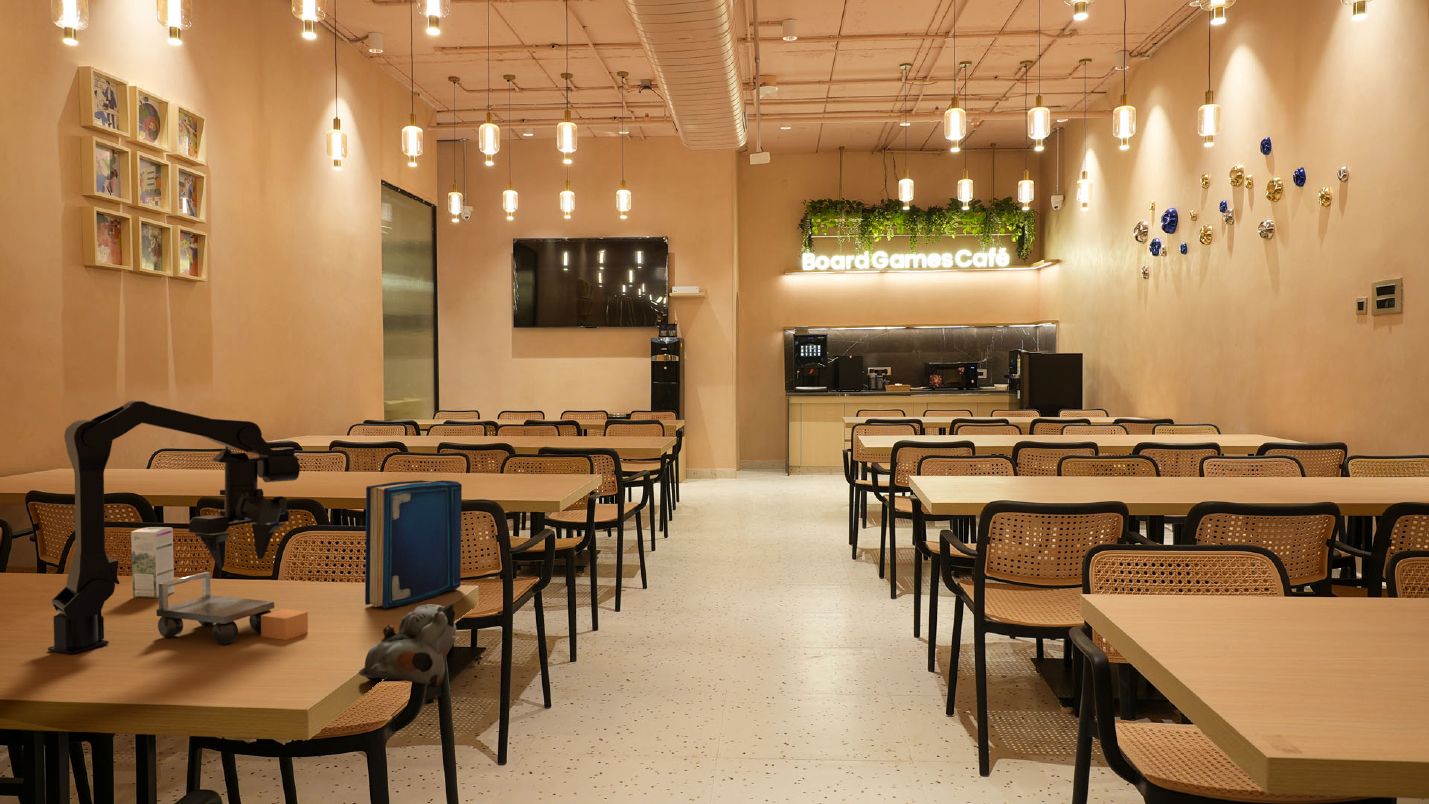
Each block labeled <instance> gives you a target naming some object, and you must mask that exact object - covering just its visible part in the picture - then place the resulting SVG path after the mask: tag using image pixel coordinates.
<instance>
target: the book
mask: <svg viewBox="0 0 1429 804" xmlns="http://www.w3.org/2000/svg"><path fill="white" fill-rule="evenodd" d="M462 487H463V485H462V483H460V482H459V481H455V480H435V481H431V480H430V481H429V480H407V481H393V482H388V483H382V484H381V483H380V484H375V485H368V486H366V487H365V490H366V491H365V493H366V494H365V561H364V562H365V564H364V565H365V570H364V571H365V576H364V577H365V578H364V579H365V581H364V583H365V585H364V586H365V587H364V588H365V589H364V590H365V591H364V603H365V606H368V605H371V606H372V607H374V608H376V607H382V609H387V608H388V609H389V608H395V607H398V606H404V605H410V604H414V603H418V602H422V601H424V600H429V599H433V598H437V597H439V596H440V595H441V594H443V593H444V592H445V593H446V592H451V591H455V590H457V589H458V588H459V589H460V587H461V573H462V572H461V567H462V566H461V563H462V562H461V561H462V558H461V557H462V556H461V554H462V550H461V549H462V494H463V493H462V489H463V488H462Z"/></svg>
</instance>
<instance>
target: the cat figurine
mask: <svg viewBox="0 0 1429 804" xmlns="http://www.w3.org/2000/svg"><path fill="white" fill-rule="evenodd" d="M454 607H455V603H454V602H452V603H449V604H448V605H446V606H442V605H440V604H432V603H431V604H430V603H429V604H424V605H418V606H417V607H415V608H414V609H413V610H412V611H410V612H408V613H407V614H405V615H404V616H403V617H402V618H401V619H400V622H399V626H398V632H396V631H395V627H394V626H393V625H391V624H389V623H388V624H386V626H384V628H383V629H382V632H383V636H384V637H383V638H382V639H381V640H380V642H378V643H377V644H374V645H372V646H371V648H370V649H369V650H368V652H367V654H366V656H365V660H364V661H365V662H364V667H363V668H361V669H359V671H358V676H359V675H360V676H361V677H365V678H366V679H367V680H370V681H371V680H373V679H396V680H401V681H402V680H403V681H407V682H411V683H416V684H421V685H428V686H429V687H432V688H437V687H439V686H440V685H441V684H442V682H443V680H444V676H445V672H446V662H445V660H446V658H447V656H448V653H449V652H450V650H451V648H452V647H453V645H454V644H455V643H456V640H457V635H456V631H457V626H456V621H455V616H456V612H455V610H454Z"/></svg>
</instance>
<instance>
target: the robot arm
mask: <svg viewBox="0 0 1429 804" xmlns="http://www.w3.org/2000/svg"><path fill="white" fill-rule="evenodd" d="M141 424H143V425H148V426H152V427H158V428H162V429H167V430H170V431H176V432H180V433H185V434H189V435H195V436H199V437H202V438H204V439H207V440H209V441H212V442H213V443H216V444H219V445H221V446H224V447H225V448H228V449H233V450H238V451H244V452H236V453H234V452H232V453H231V452H229V451H228V450H227V449H221V451H220V452H219V453H218V454H217V455H216V456H215V457H213V458H212V462H215V463H220V464H221V463H223V464H224V489H220V490H219V495H220V496H224V510H219V515H210V514H208V515H201V516H195V517H192V518H191V520H190V521H189V523H188V533H193V534H194V535H195V537H199V538H200V539H201V541H202V542H203V544H204V545H205V547H206V548H207V549H208V552H209V553H210V555H211V557H212V559H213V561H214V563H215V565H216V566H217V568H220V569H223V568H224V567H225V561H226V560H225V559H226V558H225V557H226V555H225V554H226V540H227V539H228V538H229V536H230V535H231V532H227V531H228V529H229V528H230V527H231V526H232V527H233V526H234V527H235V526H239V525H245V524H246V525H247V524H251V528H252V535H253V541H254V547H255V554H256V557H257V559H258V560H264V557H265V555H266V552H267V549H268V547H269V544H270V542H271V540H272V537H273V535H274V533H275V532H276V531H277V530H278V529H279V528H280V527H283V526H284V525H285V522H289V521H290V512H289V511H288V502H287V500H288V499H287V498H286V497H284V496H282V495H281V496H275V497H273V498H265V496H264V490H263V488H259V487H258V482H259V481H258V477H259V478H260V479H262V481H263V482H264V483H278V482H280V483H281V482H291V481H292V482H293V481H297V480H298V478H299V475H300V472H301V471H300V469H301V465H300V463H299V460H298V457H297V455H296V448H294V447H282V448H275V449H274V448H272V447H271V446H269V444H268V443H267V442H266V440H265V439H264V437H262V435H263V434H262V433H263V432H262V430H261V428H260V427H259V425H258V424H257V423H255V422H254V421H249V420H235V419H221V418H211V417H205V416H201V415H197V414H193V413H189V412H185V411H184V412H183V411H179V410H175V409H171V408H169V407H163V406H158V405H154V404H150V403H148V402H146V401H141V400H131V401H127V402H126V403H124V404H123V405H121V406H119V407H117V408H114V409H112V410H109V411H107V412H105V413H102V414H100V415H98V416H96V417H94V418H91V419H90V420H89V419H81V420H80V419H79V420H77V421H74V422H72V423H71V424H70V425H68V426H67V427H66V429H65V431H64V437H63V438H64V443H65V447H66V450H67V455H68V458H69V460H70V464H71V467H72V469H73V472H74V515H75V516H74V522H75V524H74V525H75V533H74V534H75V551H74V555H73V557H72V560H71V563H70V566H69V568H68V569H69V570H68V575H67V579H66V586H64V588H63V589H62V590H60V591H59V592H58V593H57V594H56V595H55V596H54V597H53V598H52V599H51V601H50V602H51V604H52V606H53V607H54V610H55V611H56V612H59V613H58V614H56V615H53V646H49V647H47V651H49V652H55V653H56V652H57V653H63V654H71V655H74V654H77V653H81V652H85V651H88V650H91V649H95V648H98V647H102V646H105V645H108V644H109V640H105V618H104V615H102V609H103V608H104V604H105V602H106V601H108V600H109V598H111V596H113V595H114V592H115V589H116V585H119V584H120V581H119V579H118V569H119V560H118V559H115V558H112V557H110V556H108V555H107V553H106V536H105V535H106V533H105V532H106V530H105V529H106V528H105V477H104V476H105V469H106V466H107V464H108V461H109V458H110V456H111V452H112V445H113V441H114V440H116V439H118V438H120V437H121V436H123V435H125V434H127V433H128V432H129V431H131V430H133V429H135V428H136V427H137V426H139V425H141ZM245 452H246V453H245ZM248 454H253V455H258V456H254V457H253V456H252V457H249V456H248Z"/></svg>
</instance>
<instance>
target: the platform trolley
mask: <svg viewBox="0 0 1429 804" xmlns="http://www.w3.org/2000/svg"><path fill="white" fill-rule="evenodd" d="M200 579H201V597H196V598H192V599H190V600H189V599H188V600H186V601H182V602H177V603H175V604H172V605H169V594H168V587H170V586H174V587H175V586H176V585H181V584H186V583H188V582H189V583H190V582H192V581H193V582H194V581H197V580H200ZM211 592H212V591H211V572H210V571H204V572H201V573H200V572H199V573H196V574H193V575H188V576H184V577H180V578H176V579H175V578H174V580H171V581H167V582H163V583H159V597H158V608H157V609H156V617H160V618H159V619H158V621H157V628H158V632H159V634H160V635H161V636H162V637H164V638H168V639H169V638H171V637H174V636H175V637H176V636H177V635H180V634H181V633H182V632H183V629H184V621H183V620H186V621H187V620H189V621H195V622H196V621H197V622H198V624H200V625H201V626H203V627H204V626H205V627H207V626H210V625H213V624H214V625H213V627H212V631H211V632H212V637H213V639H214V641H215V642H216V643H217V644H218V645H221V646H222V645H223V646H224V645H226V644H228V643H232V642H235V641H236V640H237V639H238V636H239V628H238V625H237V623H236V622H235V621H238V620H241V619H244V618H247V617H249V620H248V621H249V625H250V627H251V629H252V630H253V631H254V632H256V633H261V615H264V614H267V613H271V612H272V611H271V610H272V609H275V601H270V600H268V601H267V600H261V599H260V600H259V599H250V598H241V597H233V596H231V597H230V596H220V595H211Z"/></svg>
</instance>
